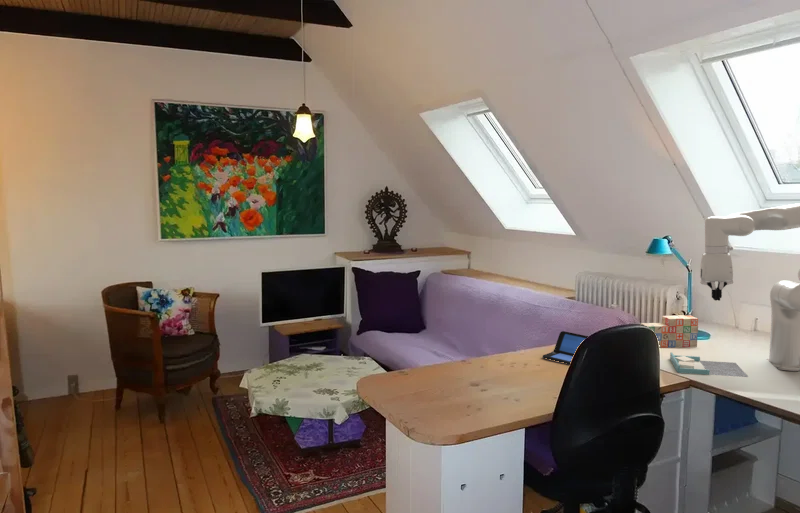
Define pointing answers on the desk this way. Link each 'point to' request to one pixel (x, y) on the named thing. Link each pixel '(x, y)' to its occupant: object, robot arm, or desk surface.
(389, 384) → the desk surface
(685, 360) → the tile
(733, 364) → the plate
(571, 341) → the handheld game console
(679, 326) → the stack of blocks
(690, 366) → the off-white rectangular block
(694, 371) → the box
